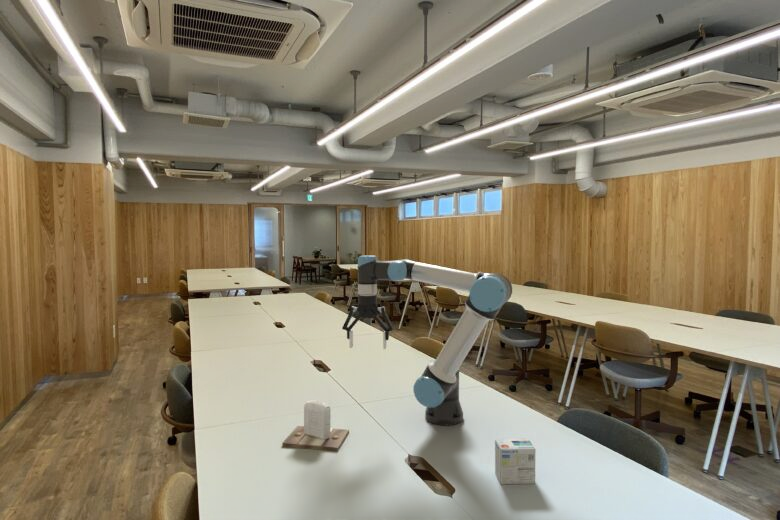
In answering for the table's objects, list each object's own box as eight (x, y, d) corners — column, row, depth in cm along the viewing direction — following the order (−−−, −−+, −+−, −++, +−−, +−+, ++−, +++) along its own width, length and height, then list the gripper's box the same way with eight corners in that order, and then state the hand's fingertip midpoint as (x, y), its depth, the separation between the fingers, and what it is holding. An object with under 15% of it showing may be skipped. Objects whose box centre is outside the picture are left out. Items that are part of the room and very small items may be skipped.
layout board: (348, 433, 162) (349, 429, 162) (338, 451, 148) (338, 446, 148) (297, 428, 165) (297, 425, 165) (282, 446, 151) (282, 442, 151)
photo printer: (332, 436, 156) (332, 402, 155) (324, 441, 152) (324, 406, 151) (310, 429, 161) (309, 396, 160) (302, 434, 157) (301, 400, 157)
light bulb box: (528, 472, 135) (528, 437, 134) (536, 484, 128) (536, 448, 128) (493, 472, 134) (494, 438, 134) (499, 485, 128) (500, 448, 127)
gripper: (400, 293, 175) (400, 346, 176) (339, 293, 179) (340, 344, 180) (397, 296, 167) (397, 351, 168) (334, 295, 171) (334, 349, 172)
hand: (367, 347), depth 174 cm, fingers open, 13 cm apart
